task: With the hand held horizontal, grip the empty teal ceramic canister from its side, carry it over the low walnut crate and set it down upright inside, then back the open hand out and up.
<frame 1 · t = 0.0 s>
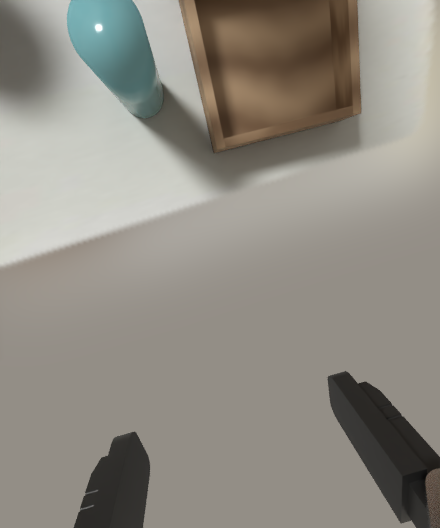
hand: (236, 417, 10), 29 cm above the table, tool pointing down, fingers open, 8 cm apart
walnut crate: (266, 63, 31), on the table
teal canister: (142, 94, 31), on the table
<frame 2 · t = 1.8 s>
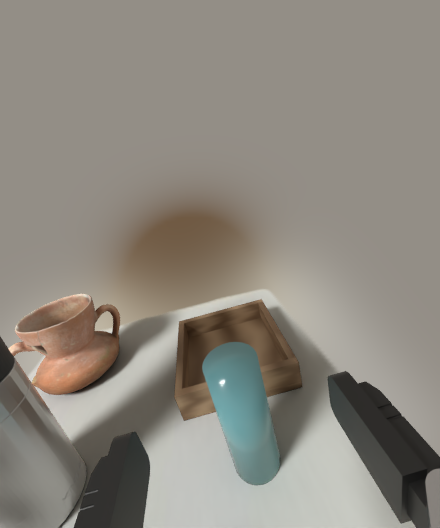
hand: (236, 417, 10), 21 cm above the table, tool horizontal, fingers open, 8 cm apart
ceramic jug: (90, 370, 50), on the table
walnut crate: (232, 358, 43), on the table
teal canister: (256, 457, 28), on the table
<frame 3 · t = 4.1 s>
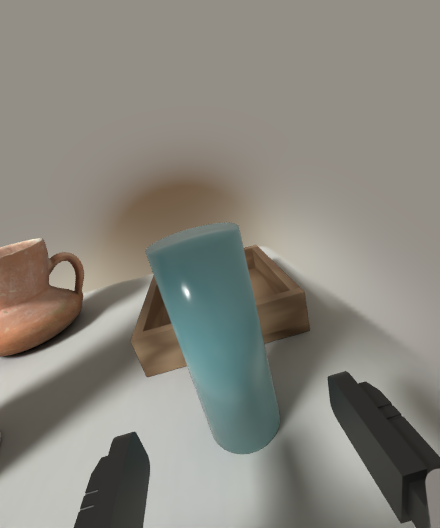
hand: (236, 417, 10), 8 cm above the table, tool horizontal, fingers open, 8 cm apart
ceramic jug: (45, 333, 40), on the table
walnut crate: (218, 309, 33), on the table
teal canister: (244, 416, 18), on the table
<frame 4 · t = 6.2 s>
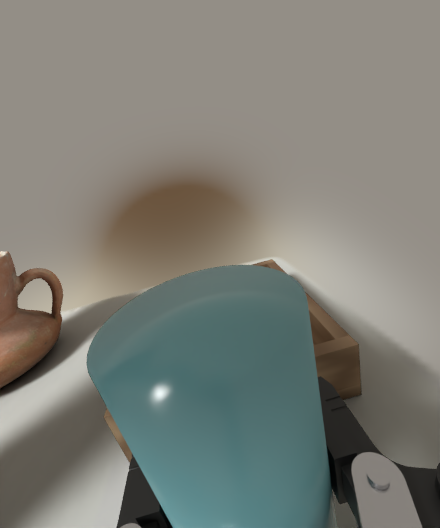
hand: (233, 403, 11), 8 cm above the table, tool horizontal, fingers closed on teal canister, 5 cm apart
ceramic jug: (14, 367, 33), on the table
walnut crate: (228, 346, 26), on the table
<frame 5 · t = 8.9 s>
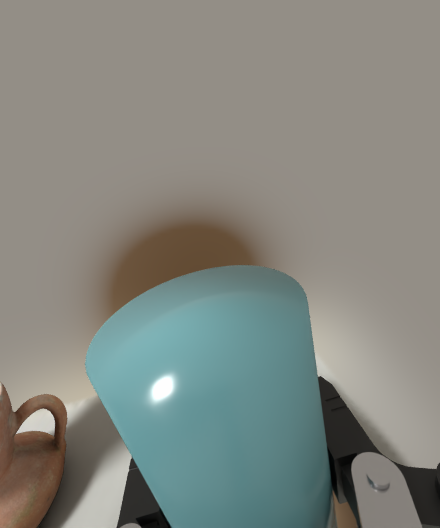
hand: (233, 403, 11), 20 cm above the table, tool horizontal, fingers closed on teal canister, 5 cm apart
ceramic jug: (10, 514, 28), on the table
when the fingers open (10 cm above the table, at t = 11.8 s): teal canister drops 1 cm, resting on walnut crate.
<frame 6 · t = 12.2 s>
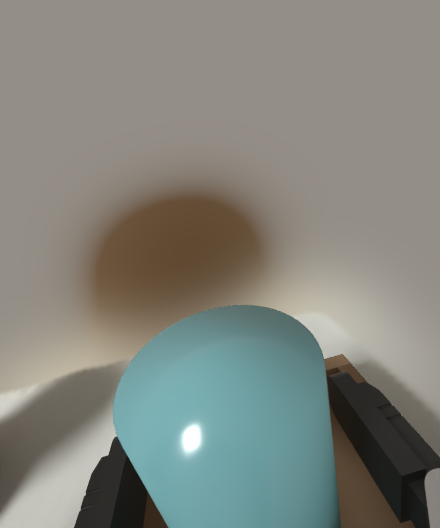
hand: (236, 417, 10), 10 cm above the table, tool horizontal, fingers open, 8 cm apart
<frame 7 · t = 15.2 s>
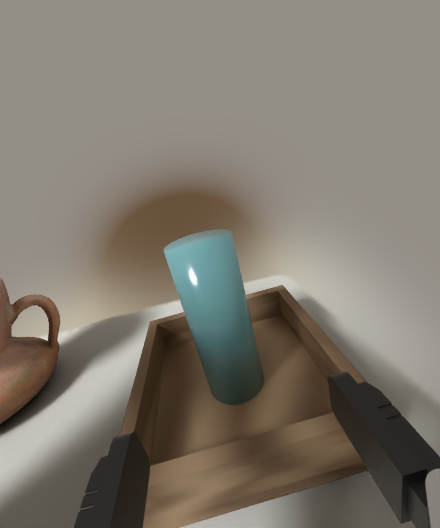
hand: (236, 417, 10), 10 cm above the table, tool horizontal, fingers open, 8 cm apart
ceramic jug: (7, 400, 31), on the table
walnut crate: (238, 387, 24), on the table
teal canister: (236, 379, 24), point 1 cm above the table, touching walnut crate
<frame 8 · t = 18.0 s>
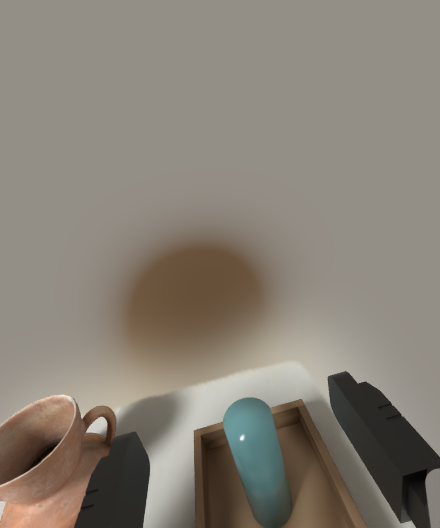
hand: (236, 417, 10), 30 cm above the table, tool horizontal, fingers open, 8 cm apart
ceramic jug: (77, 494, 38), on the table
walnut crate: (271, 504, 31), on the table
teal canister: (270, 500, 30), point 1 cm above the table, touching walnut crate
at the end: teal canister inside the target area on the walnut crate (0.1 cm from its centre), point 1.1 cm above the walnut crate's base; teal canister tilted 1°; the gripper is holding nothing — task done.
